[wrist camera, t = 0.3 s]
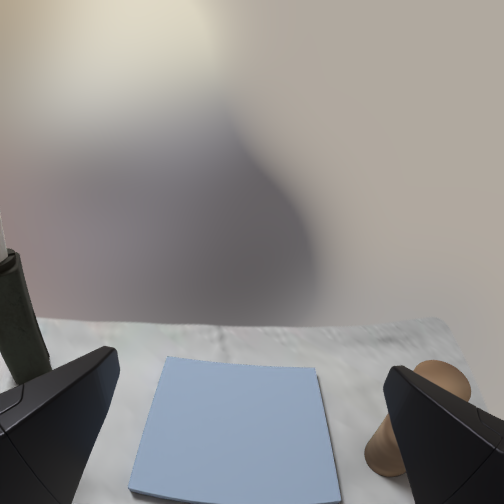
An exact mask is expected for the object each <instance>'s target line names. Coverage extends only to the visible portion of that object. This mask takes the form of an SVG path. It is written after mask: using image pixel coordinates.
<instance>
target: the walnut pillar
mask: <svg viewBox="0 0 504 504" xmlns="http://www.w3.org/2000/svg"><path fill="white" fill-rule="evenodd" d="M413 372H415V373H417V374H419V375H420V376H422V377H424V378H426V379H428V380H429V381H431V382H433V383H435V384H436V385H438V386H440V387H442V388H443V389H445V390H447V391H449V392H451V393H452V394H454V395H456V396H458V397H460V398H461V399H463V400H465V401H467V402H468V401H469V399H470V396H471V387H470V384H469V382H468V380H467V378H466V377H465V376H464V374H463V373H462V372H461V371H459V370H458V369H457V368H455V367H454V366H452V365H450V364H448V363H446V362H442V361H438V360H428V361H424V362H421V363H420V364H418V365H417V366H416V368H415V369H414V371H413ZM364 455H365V460H366V462H367V464H368V466H369V467H370V468H371V469H372V470H373V471H374V472H376V473H377V474H379V475H382V476H386V477H395V476H399V475H401V474H403V473H405V472H406V469H405V466H404V463H403V460H402V457H401V453H400V450H399V447H398V444H397V441H396V438H395V435H394V432H393V429H392V426H391V422H390V417H389V413H388V414H387V416H386V418H385V419H384V421H383V422H382V423H381V425H380V426H379V428H378V429H377V431H376V432H375V434H374V435H373V436H372V438H371V439H370V441H369V442H368V443H367V445H366V447H365V454H364Z"/></svg>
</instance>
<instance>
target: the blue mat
mask: <svg viewBox="0 0 504 504" xmlns="http://www.w3.org/2000/svg"><path fill="white" fill-rule="evenodd" d="M128 489H129V490H130V491H133V492H137V493H141V494H145V495H149V496H154V497H158V498H163V499H169V500H174V501H180V502H186V503H193V504H338V503H339V502H340V501H341V496H340V490H339V485H338V479H337V474H336V468H335V463H334V458H333V452H332V447H331V442H330V437H329V432H328V427H327V422H326V417H325V413H324V408H323V403H322V398H321V394H320V389H319V384H318V380H317V375H316V371H315V368H299V367H272V366H255V365H241V364H229V363H218V362H209V361H200V360H192V359H184V358H176V357H169V356H167V358H166V361H165V364H164V367H163V370H162V373H161V377H160V380H159V383H158V386H157V389H156V392H155V395H154V398H153V402H152V405H151V408H150V411H149V415H148V418H147V421H146V424H145V428H144V431H143V435H142V438H141V441H140V445H139V448H138V452H137V455H136V459H135V462H134V466H133V470H132V473H131V477H130V481H129V485H128Z"/></svg>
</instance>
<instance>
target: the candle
mask: <svg viewBox="0 0 504 504" xmlns="http://www.w3.org/2000/svg"><path fill="white" fill-rule="evenodd" d="M0 352H1V354H2V357H3V359H4V361H5V363H6V365H7V367H8V369H9V371H10V373H11V374H12V376H13V378H14V380H15V382H16V383H17V384H18V385H22V384H24V383H26V382H28V381H30V380H33V379H35V378H37V377H39V376H41V375H43V374H46V373H48V372H50V371H52V368H51V366H50V363H49V358H48V357H49V353H48V351H47V348H46V345H45V343H44V340H43V337H42V334H41V332H40V329H39V326H38V323H37V320H36V316H35V313H34V310H33V307H32V303H31V300H30V296H29V293H28V289H27V285H26V281H25V277H24V273H23V269H22V264H21V260H20V255H19V254H18V253H17V252H15V251H14V250H12V249H7V248H6V244H5V238H4V232H3V227H2V220H1V213H0Z"/></svg>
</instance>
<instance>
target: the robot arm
mask: <svg viewBox="0 0 504 504" xmlns="http://www.w3.org/2000/svg"><path fill="white" fill-rule="evenodd" d="M119 374H120V366H119V360H118V354H117V350H116V349H115V348H113V347H108V346H103V347H101V348H98V349H96V350H94V351H92V352H90V353H88V354H86V355H84V356H82V357H80V358H78V359H75V360H73V361H71V362H69V363H67V364H65V365H63V366H61V367H58V368H56V369H54V370H52V371H50V372H48V373H46V374H43V375H41V376H39V377H37V378H35V379H33V380H30V381H28V382H26V383H24V384H22V385H19V386H17V387H15V388H13V389H10V390H8V391H6V392H3V393H1V394H0V504H72V501H73V498H74V495H75V493H76V490H77V487H78V484H79V482H80V479H81V477H82V474H83V471H84V469H85V466H86V464H87V461H88V459H89V456H90V454H91V451H92V449H93V446H94V444H95V441H96V439H97V436H98V434H99V432H100V429H101V427H102V425H103V422H104V420H105V418H106V415H107V413H108V410H109V407H110V404H111V400H112V397H113V394H114V390H115V387H116V384H117V381H118V378H119ZM383 391H384V396H385V400H386V404H387V409H388V413H389V417H390V422H391V426H392V429H393V432H394V435H395V438H396V441H397V444H398V447H399V450H400V453H401V457H402V460H403V463H404V466H405V469H406V473H407V476H408V479H409V483H410V486H411V490H412V493H413V497H414V500H415V504H504V420H501V419H499V418H497V417H495V416H493V415H491V414H489V413H487V412H485V411H483V410H482V409H480V408H476V406H474V405H472V404H470V403H469V402H467V401H465V400H463V399H461V398H460V397H458V396H456V395H454V394H452V393H451V392H449V391H447V390H445V389H443V388H442V387H440V386H438V385H436V384H435V383H433V382H431V381H429V380H428V379H426V378H424V377H422V376H420V375H419V374H417V373H415V372H413V371H412V370H410V369H408V368H406V367H405V366H402V365H401V366H393V367H391V369H390V371H389V373H388V376H387V378H386V381H385V383H384V386H383Z"/></svg>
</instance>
